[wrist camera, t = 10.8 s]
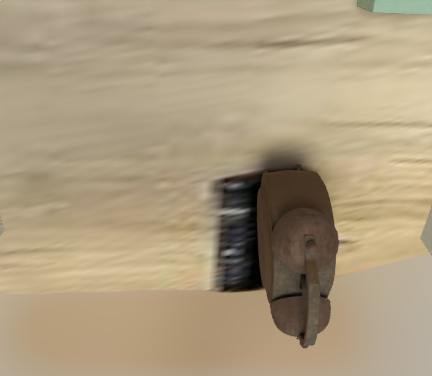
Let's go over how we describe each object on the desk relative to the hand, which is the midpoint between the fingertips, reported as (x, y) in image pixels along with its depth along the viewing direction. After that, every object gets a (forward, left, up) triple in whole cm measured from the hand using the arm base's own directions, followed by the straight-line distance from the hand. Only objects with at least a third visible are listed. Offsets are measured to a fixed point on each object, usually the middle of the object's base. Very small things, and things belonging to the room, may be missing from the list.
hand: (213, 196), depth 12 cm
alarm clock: (+9, -20, -33) cm, 39 cm away
